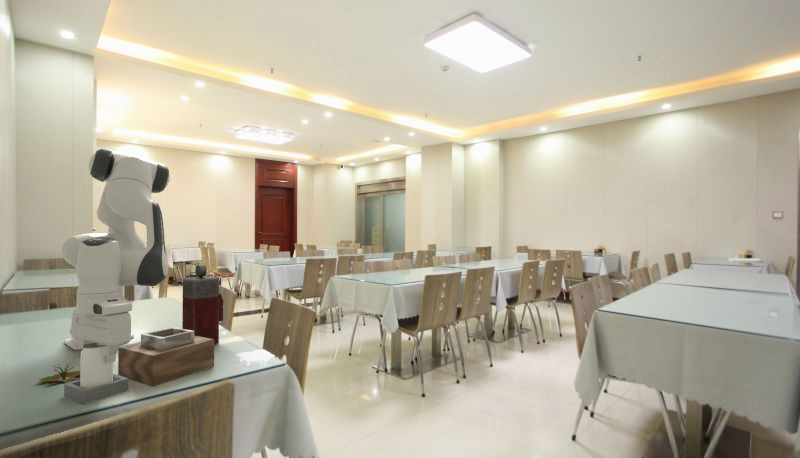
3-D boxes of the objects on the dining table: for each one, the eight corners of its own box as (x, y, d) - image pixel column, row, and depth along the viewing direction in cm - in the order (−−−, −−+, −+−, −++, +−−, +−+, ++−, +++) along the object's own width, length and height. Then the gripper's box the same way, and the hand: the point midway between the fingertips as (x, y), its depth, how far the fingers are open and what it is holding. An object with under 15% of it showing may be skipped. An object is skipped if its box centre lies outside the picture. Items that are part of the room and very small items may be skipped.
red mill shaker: (225, 341, 147) (225, 264, 147) (193, 348, 138) (193, 266, 139) (213, 337, 153) (213, 263, 153) (181, 344, 144) (182, 264, 144)
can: (95, 399, 97) (95, 349, 97) (73, 397, 98) (73, 347, 98) (119, 389, 103) (119, 341, 103) (98, 387, 104) (98, 340, 104)
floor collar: (63, 396, 99) (63, 384, 99) (107, 383, 107) (107, 371, 107) (84, 404, 94) (84, 391, 94) (128, 390, 102) (128, 378, 102)
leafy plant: (84, 369, 119) (84, 354, 119) (97, 379, 111) (97, 362, 111) (29, 381, 109) (29, 364, 109) (38, 393, 102) (38, 374, 102)
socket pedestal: (118, 376, 112) (118, 336, 112) (180, 358, 128) (180, 323, 128) (152, 386, 105) (153, 343, 105) (214, 366, 121) (214, 329, 121)
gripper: (62, 302, 103) (62, 357, 103) (108, 308, 93) (108, 369, 93) (91, 298, 108) (91, 351, 108) (136, 304, 99) (136, 361, 99)
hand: (99, 359), depth 101 cm, fingers open, 8 cm apart
